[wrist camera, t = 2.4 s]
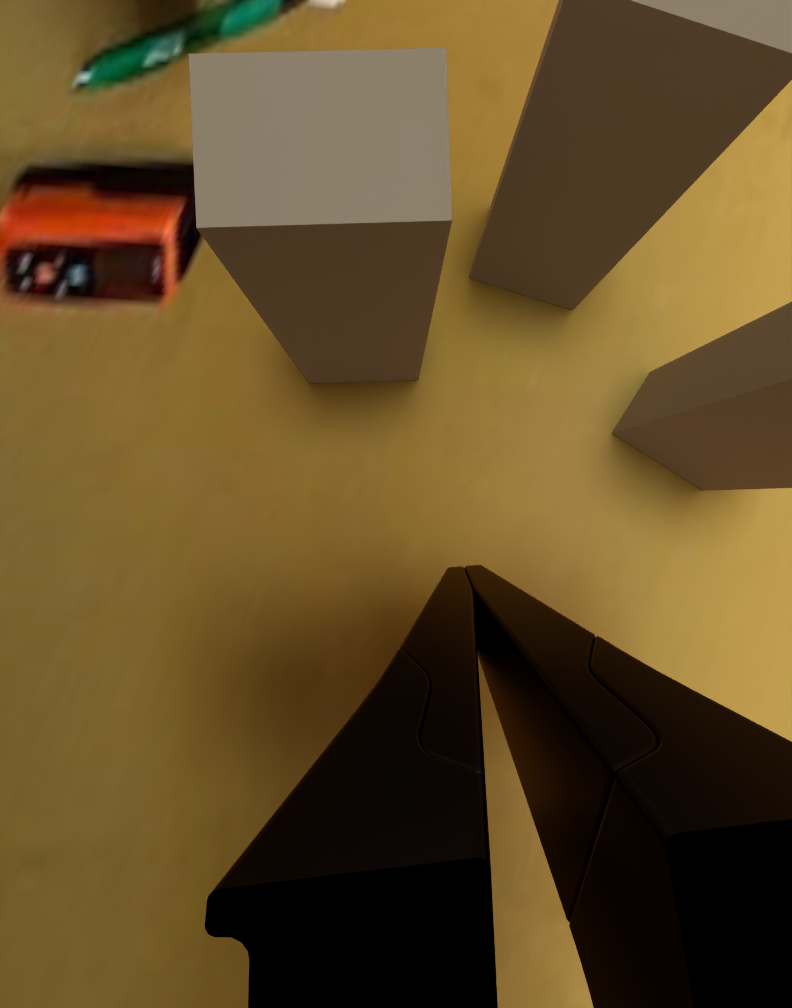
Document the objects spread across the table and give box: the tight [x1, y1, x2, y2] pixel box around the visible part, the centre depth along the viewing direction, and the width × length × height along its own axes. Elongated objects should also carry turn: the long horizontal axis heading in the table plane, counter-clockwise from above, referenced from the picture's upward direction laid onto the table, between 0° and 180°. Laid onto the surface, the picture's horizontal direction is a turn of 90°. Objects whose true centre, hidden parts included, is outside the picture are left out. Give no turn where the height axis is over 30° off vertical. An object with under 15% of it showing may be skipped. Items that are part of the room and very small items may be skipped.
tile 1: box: [612, 302, 792, 490], centre depth 13 cm, size 4×6×10 cm
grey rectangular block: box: [469, 0, 792, 310], centre depth 12 cm, size 4×6×10 cm
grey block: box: [189, 48, 452, 384], centre depth 12 cm, size 4×6×10 cm
